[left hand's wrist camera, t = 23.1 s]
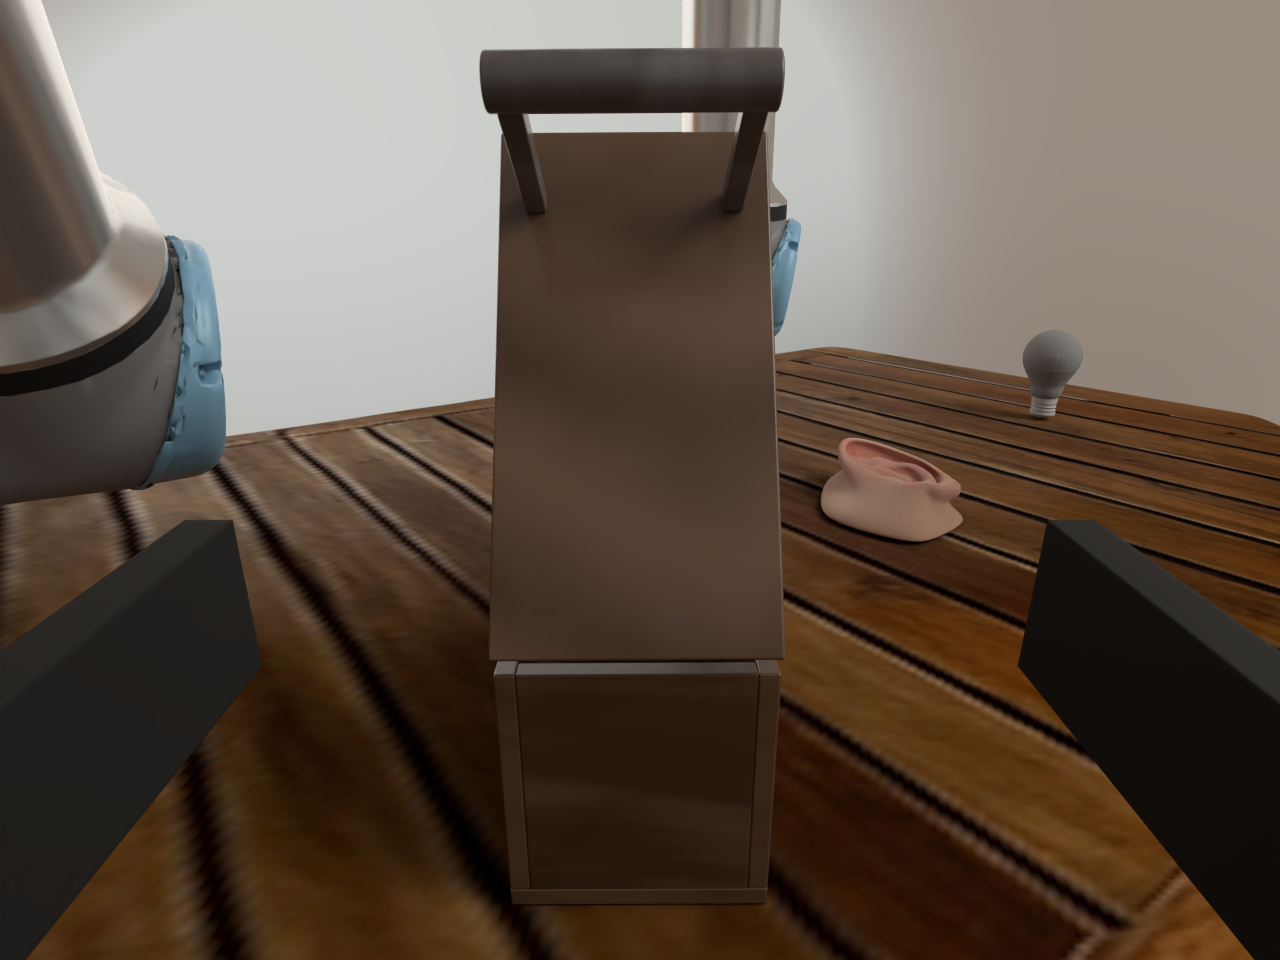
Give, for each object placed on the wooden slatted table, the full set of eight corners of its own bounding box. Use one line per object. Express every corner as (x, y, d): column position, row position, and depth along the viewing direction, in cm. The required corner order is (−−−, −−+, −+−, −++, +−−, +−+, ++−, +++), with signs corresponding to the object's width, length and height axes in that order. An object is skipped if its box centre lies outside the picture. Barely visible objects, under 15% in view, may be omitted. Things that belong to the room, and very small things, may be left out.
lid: (506, 149, 27) (451, -32, 19) (763, 147, 27) (812, -35, 19) (494, 659, 24) (424, 687, 17) (780, 657, 24) (844, 685, 17)
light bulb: (1022, 422, 86) (1037, 334, 83) (1006, 409, 92) (1020, 326, 89) (1078, 424, 86) (1096, 335, 82) (1059, 411, 91) (1075, 326, 88)
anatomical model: (965, 498, 53) (802, 476, 58) (957, 550, 55) (798, 524, 59) (973, 447, 64) (837, 432, 69) (967, 491, 66) (833, 473, 70)
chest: (559, 644, 43) (551, 486, 40) (719, 644, 43) (724, 486, 40) (511, 905, 27) (492, 675, 24) (766, 904, 27) (782, 673, 24)
